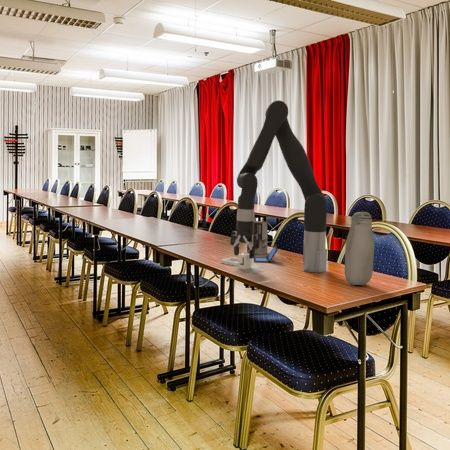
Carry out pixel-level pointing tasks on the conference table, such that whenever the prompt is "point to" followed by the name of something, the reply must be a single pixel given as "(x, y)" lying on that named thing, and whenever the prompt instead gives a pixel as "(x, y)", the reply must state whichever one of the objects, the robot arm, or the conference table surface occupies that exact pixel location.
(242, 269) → the coaster teal
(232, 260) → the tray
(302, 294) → the conference table surface
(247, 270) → the coaster grey
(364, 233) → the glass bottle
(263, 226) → the coffee box
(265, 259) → the handheld game console
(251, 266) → the coaster sage
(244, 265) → the letter cube
